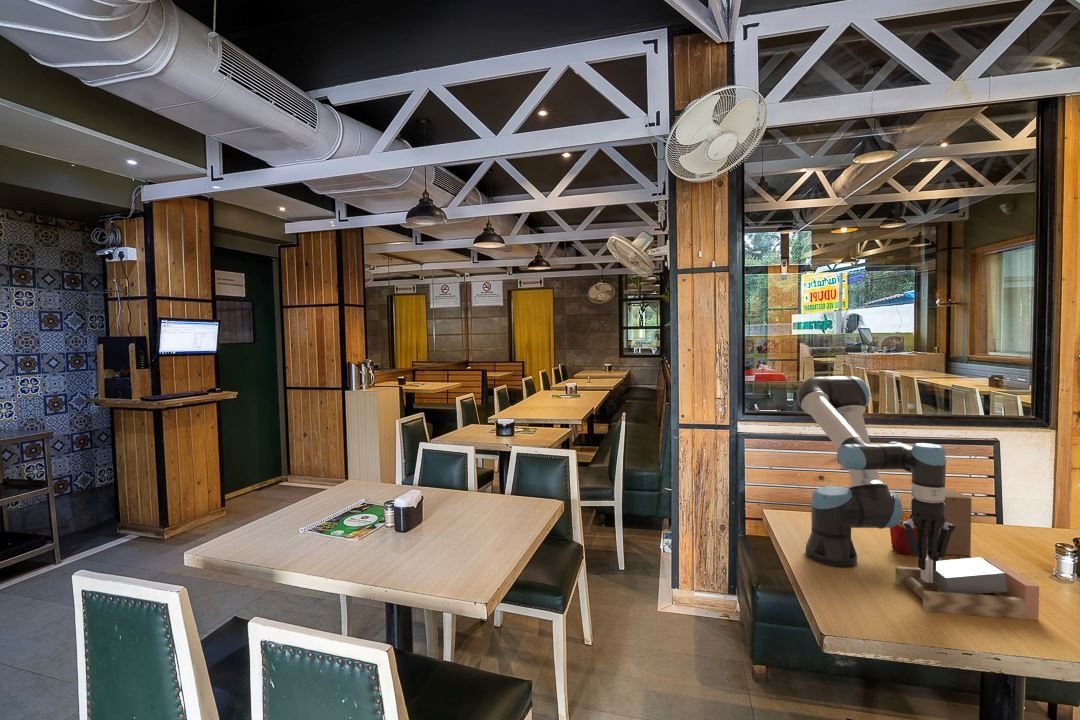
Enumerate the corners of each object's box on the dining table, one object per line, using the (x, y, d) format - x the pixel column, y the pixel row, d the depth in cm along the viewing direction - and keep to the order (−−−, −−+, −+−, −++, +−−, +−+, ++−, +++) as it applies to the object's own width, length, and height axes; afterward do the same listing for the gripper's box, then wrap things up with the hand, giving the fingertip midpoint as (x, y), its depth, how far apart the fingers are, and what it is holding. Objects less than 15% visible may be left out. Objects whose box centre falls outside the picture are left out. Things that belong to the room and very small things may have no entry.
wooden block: (971, 556, 169) (972, 498, 168) (937, 554, 171) (938, 496, 170) (953, 544, 179) (954, 489, 178) (921, 542, 181) (922, 488, 180)
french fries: (921, 556, 170) (921, 512, 169) (896, 556, 170) (896, 513, 169) (903, 546, 178) (903, 504, 178) (879, 546, 179) (880, 504, 178)
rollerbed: (925, 611, 136) (926, 593, 136) (895, 582, 152) (895, 566, 152) (1024, 619, 132) (1025, 600, 131) (982, 588, 148) (983, 571, 148)
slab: (949, 595, 138) (945, 578, 138) (928, 578, 147) (925, 562, 147) (1007, 591, 135) (1004, 573, 135) (983, 574, 145) (979, 557, 145)
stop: (1024, 619, 132) (1025, 585, 131) (982, 588, 148) (983, 558, 147) (1038, 620, 131) (1039, 586, 131) (994, 589, 147) (995, 559, 147)
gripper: (909, 502, 140) (908, 585, 141) (963, 504, 137) (961, 588, 139) (895, 494, 147) (894, 573, 148) (945, 495, 145) (944, 575, 146)
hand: (926, 580), depth 143 cm, fingers closed
